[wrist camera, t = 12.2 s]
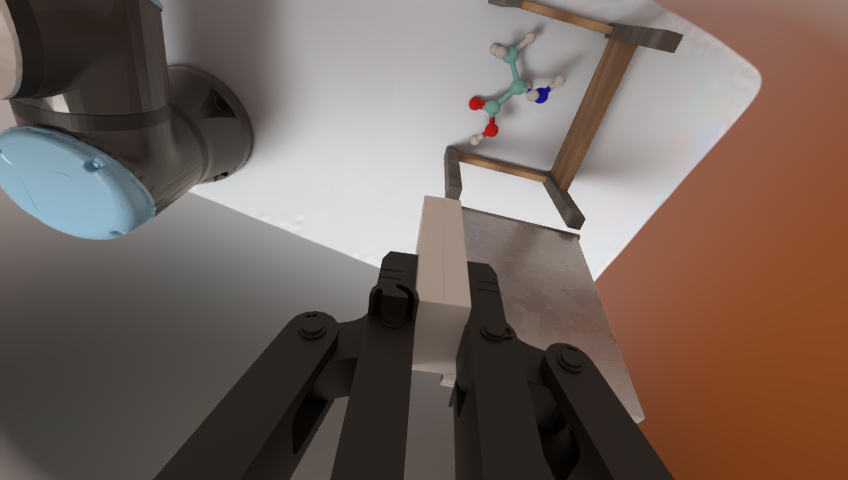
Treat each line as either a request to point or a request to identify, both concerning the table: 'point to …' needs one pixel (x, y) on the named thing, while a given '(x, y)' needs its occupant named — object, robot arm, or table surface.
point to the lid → (547, 293)
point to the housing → (587, 116)
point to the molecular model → (517, 87)
